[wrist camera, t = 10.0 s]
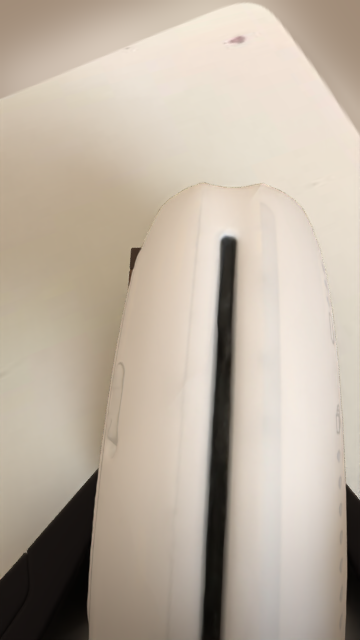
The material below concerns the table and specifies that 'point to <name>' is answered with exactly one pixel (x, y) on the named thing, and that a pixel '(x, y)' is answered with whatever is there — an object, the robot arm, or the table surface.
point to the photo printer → (223, 433)
